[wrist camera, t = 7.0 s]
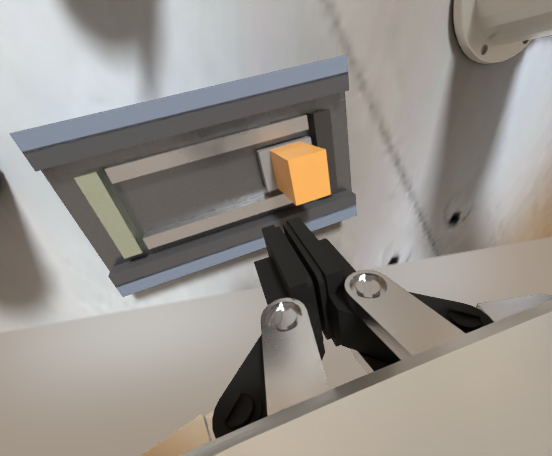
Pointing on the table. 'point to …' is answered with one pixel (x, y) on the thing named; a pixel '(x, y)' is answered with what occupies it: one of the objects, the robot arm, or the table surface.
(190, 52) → the table surface
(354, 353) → the robot arm
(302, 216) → the sliding rail tray
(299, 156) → the lever
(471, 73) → the table surface
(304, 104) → the grey slotted base frame
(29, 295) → the table surface
